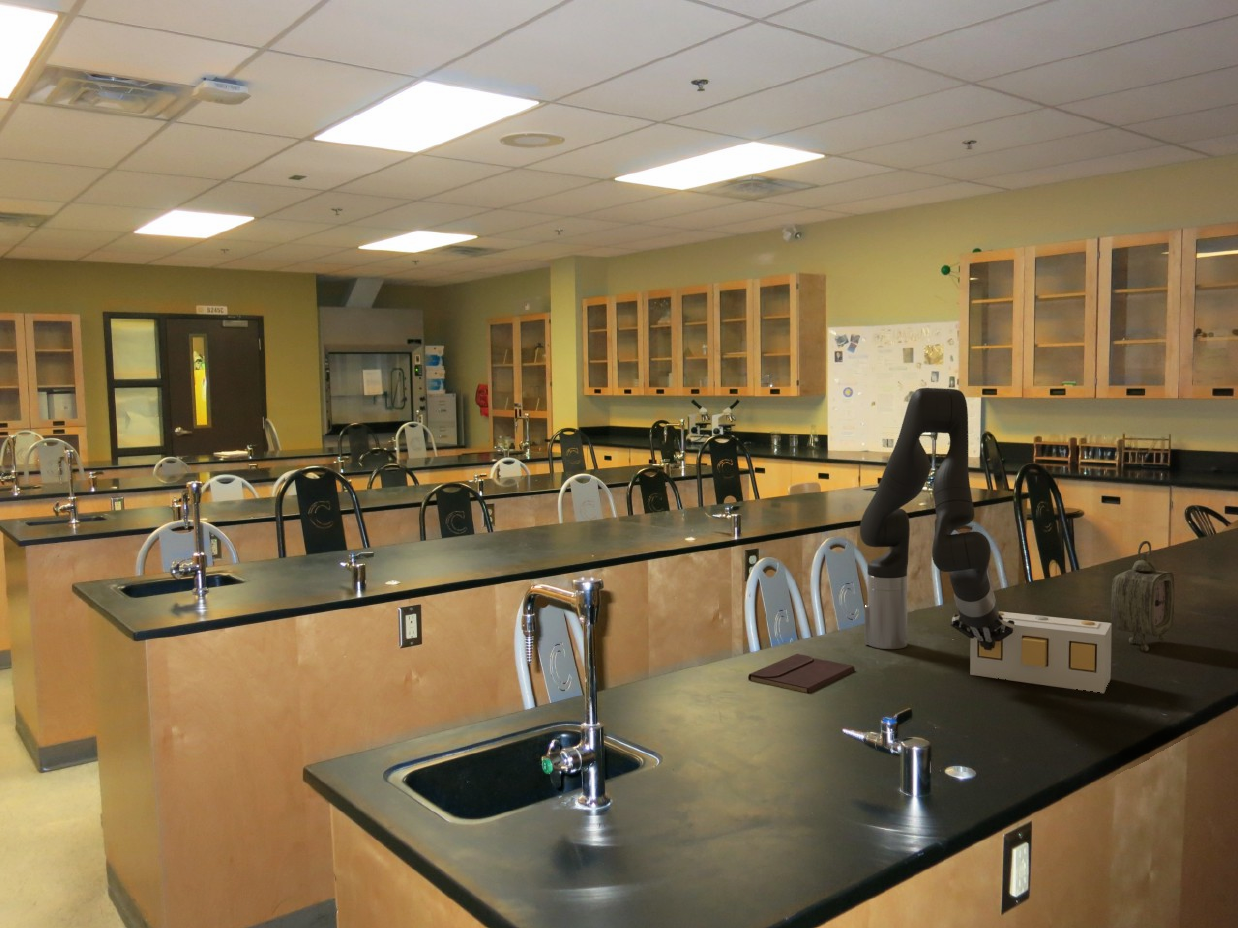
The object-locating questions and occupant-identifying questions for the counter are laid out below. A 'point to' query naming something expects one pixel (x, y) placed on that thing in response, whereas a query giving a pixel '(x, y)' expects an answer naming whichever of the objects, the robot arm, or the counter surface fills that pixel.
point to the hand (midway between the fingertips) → (988, 646)
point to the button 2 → (1083, 655)
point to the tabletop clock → (1143, 600)
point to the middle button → (1034, 651)
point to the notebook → (801, 673)
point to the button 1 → (995, 652)
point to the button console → (1048, 653)
